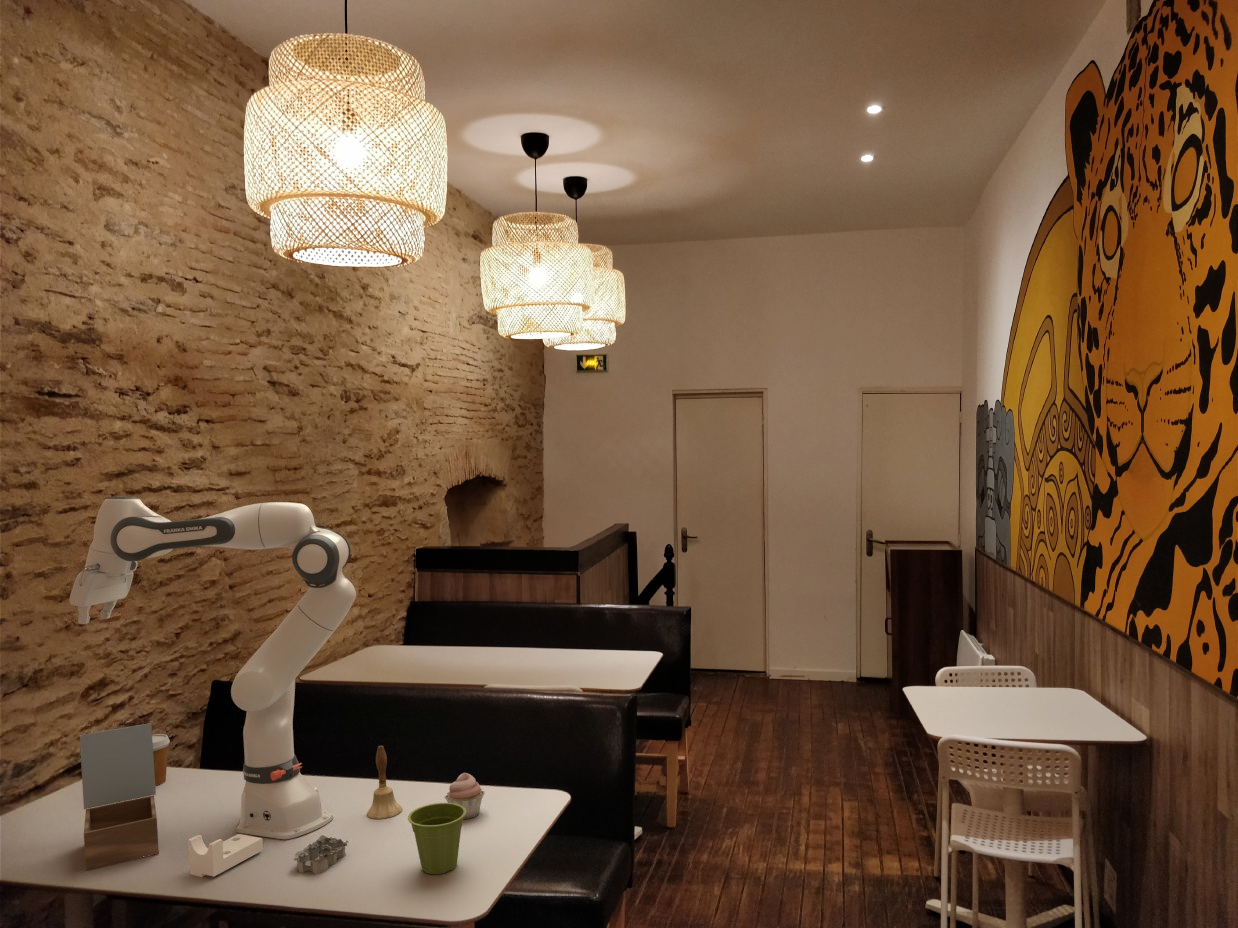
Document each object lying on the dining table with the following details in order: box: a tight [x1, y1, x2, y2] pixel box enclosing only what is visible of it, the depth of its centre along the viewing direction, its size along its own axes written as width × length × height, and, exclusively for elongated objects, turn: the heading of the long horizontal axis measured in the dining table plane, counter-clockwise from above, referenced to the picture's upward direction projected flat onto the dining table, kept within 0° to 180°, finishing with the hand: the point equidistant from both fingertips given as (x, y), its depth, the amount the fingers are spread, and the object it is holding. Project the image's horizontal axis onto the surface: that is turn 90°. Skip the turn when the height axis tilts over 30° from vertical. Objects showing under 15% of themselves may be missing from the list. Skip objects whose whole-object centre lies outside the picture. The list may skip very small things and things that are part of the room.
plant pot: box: [407, 802, 466, 875], centre depth 190 cm, size 12×12×11 cm
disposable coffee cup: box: [152, 733, 171, 787], centre depth 249 cm, size 10×10×12 cm
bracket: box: [187, 833, 264, 878], centre depth 197 cm, size 13×7×8 cm, turn 155°
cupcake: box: [444, 772, 486, 820], centre depth 217 cm, size 9×9×10 cm
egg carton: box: [293, 834, 349, 875], centre depth 196 cm, size 11×8×4 cm
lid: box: [79, 722, 157, 810], centre depth 216 cm, size 17×15×1 cm
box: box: [83, 795, 160, 871], centre depth 207 cm, size 16×14×8 cm
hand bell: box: [366, 745, 403, 820], centre depth 221 cm, size 8×8×16 cm
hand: (94, 620), depth 216 cm, fingers open, 8 cm apart
